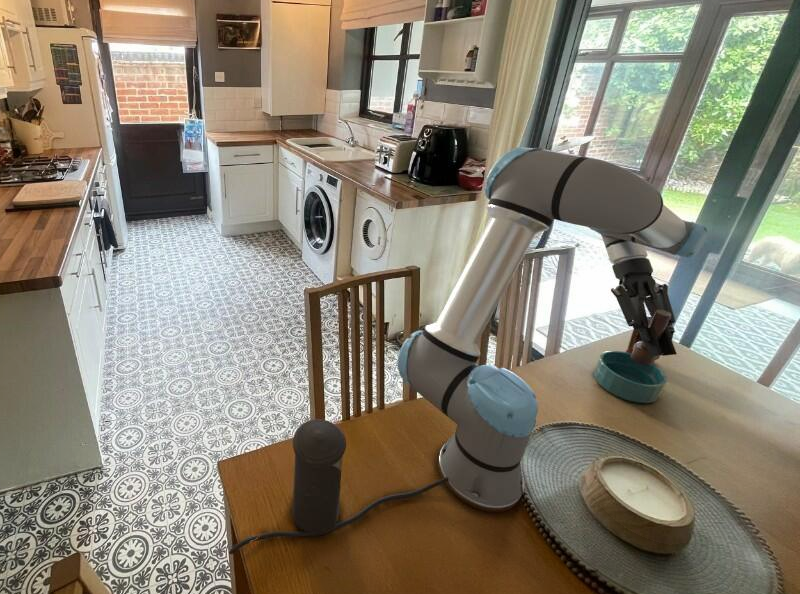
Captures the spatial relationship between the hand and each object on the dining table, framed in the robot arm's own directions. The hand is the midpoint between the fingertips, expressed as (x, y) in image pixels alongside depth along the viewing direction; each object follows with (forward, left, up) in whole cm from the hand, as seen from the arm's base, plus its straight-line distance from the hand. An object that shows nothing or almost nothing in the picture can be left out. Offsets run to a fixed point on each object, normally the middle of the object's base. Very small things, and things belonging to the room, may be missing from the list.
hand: (662, 355), depth 96 cm
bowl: (-1, +4, -13) cm, 13 cm away
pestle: (+1, +4, -5) cm, 6 cm away
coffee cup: (+12, +10, -13) cm, 20 cm away
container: (-88, -7, -13) cm, 90 cm away
